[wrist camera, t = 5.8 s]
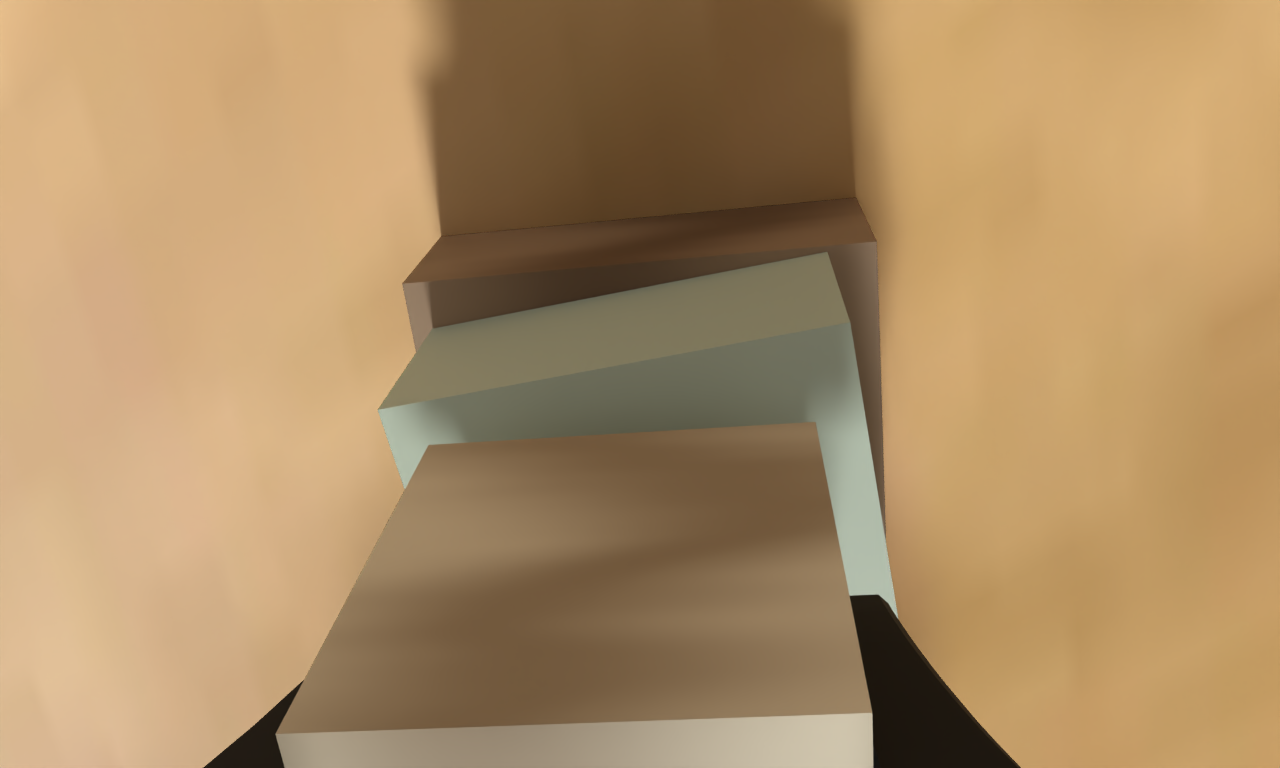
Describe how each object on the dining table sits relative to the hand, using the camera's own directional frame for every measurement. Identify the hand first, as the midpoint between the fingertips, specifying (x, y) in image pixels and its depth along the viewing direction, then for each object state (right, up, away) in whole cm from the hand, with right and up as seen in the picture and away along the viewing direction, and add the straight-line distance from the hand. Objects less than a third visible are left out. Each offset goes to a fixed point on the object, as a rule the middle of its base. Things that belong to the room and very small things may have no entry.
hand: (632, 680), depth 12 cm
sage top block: (+1, +2, +5) cm, 6 cm away
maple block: (0, +1, +1) cm, 2 cm away
